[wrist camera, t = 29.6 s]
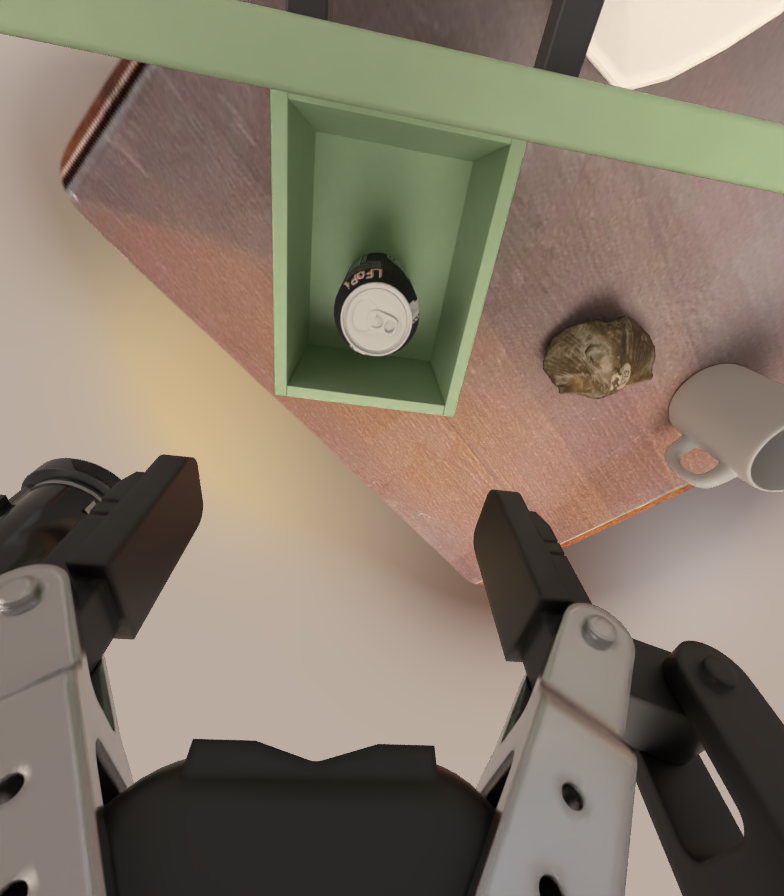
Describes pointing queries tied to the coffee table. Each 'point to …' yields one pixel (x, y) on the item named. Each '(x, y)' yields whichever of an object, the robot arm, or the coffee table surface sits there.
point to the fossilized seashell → (599, 357)
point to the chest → (382, 244)
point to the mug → (730, 427)
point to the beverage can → (376, 306)
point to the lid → (420, 78)
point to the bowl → (669, 35)
